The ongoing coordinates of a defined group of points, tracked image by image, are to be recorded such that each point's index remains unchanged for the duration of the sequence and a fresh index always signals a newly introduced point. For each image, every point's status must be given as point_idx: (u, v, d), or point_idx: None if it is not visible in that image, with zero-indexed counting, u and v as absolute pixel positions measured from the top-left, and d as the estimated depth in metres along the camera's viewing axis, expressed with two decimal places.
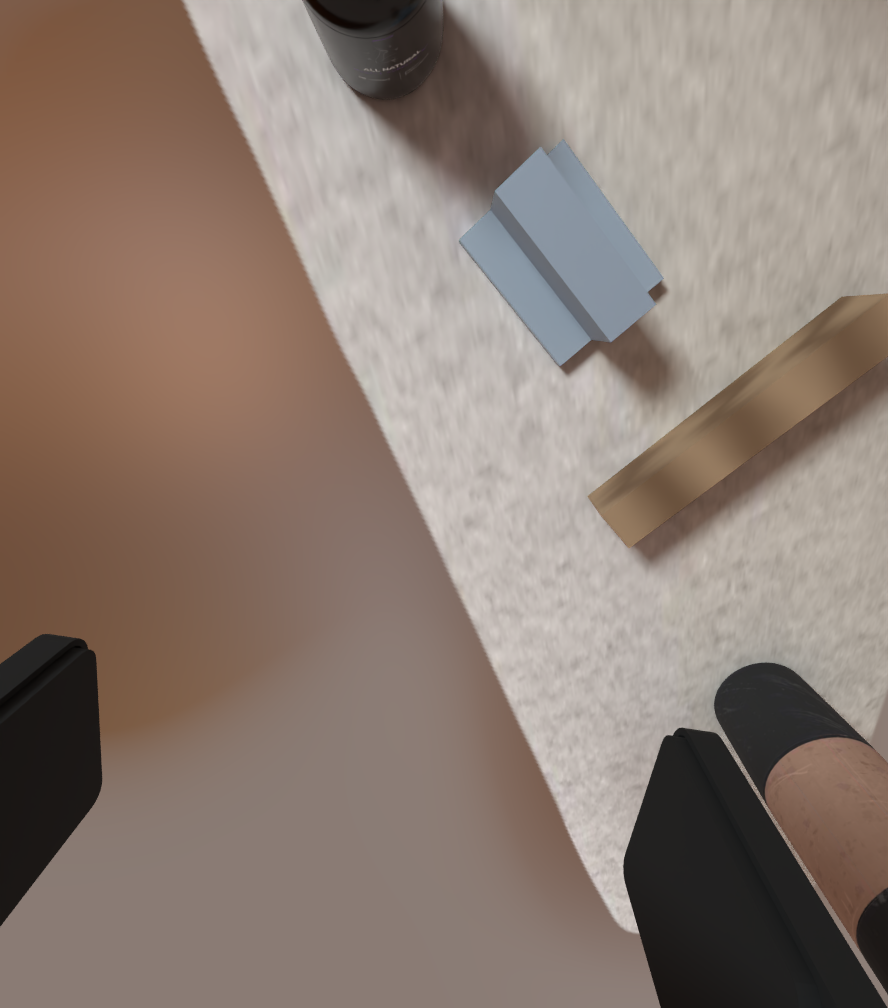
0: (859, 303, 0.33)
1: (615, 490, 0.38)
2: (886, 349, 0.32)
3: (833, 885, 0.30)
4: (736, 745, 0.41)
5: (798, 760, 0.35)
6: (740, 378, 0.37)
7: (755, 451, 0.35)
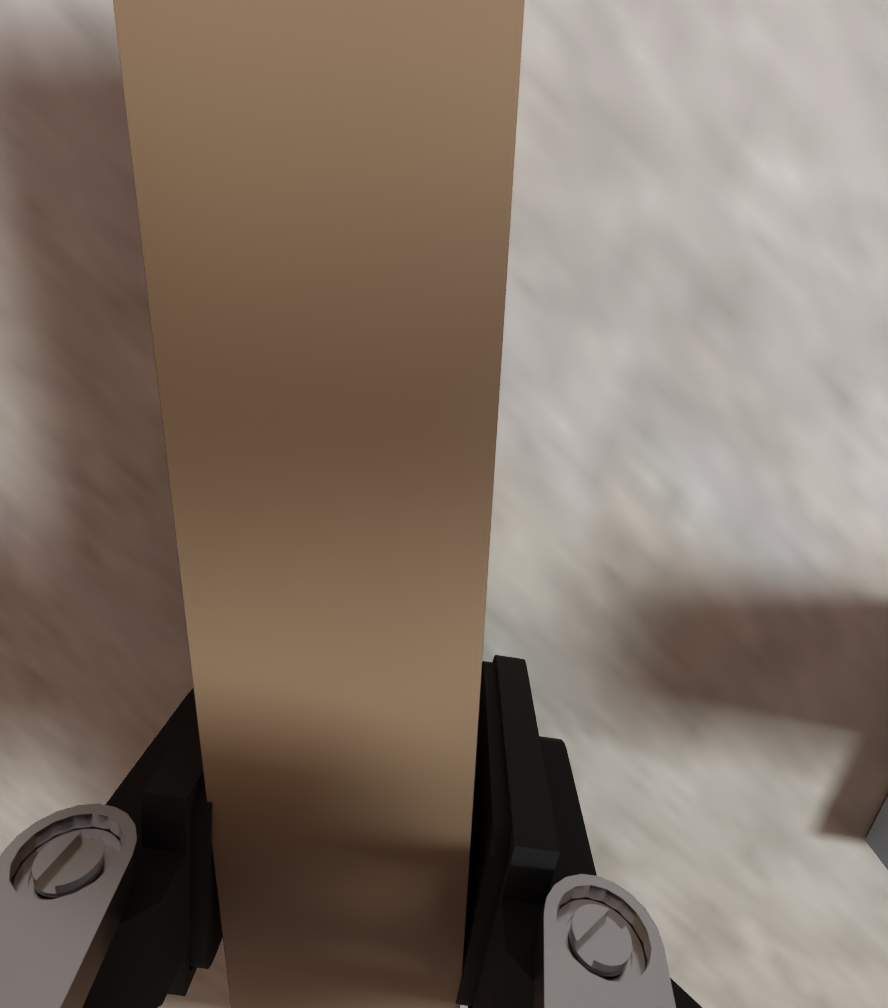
0: None
1: None
2: None
3: None
4: None
5: None
6: None
7: (229, 875, 0.07)
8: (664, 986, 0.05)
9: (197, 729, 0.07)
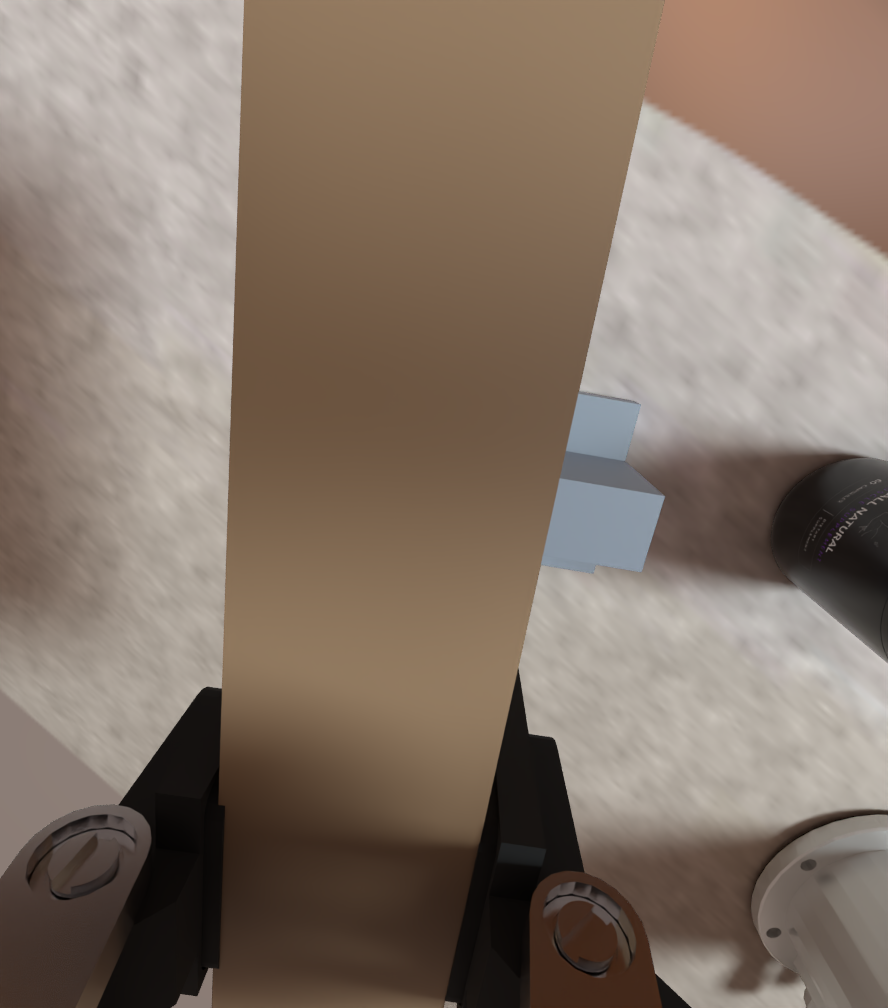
0: None
1: None
2: None
3: None
4: None
5: None
6: None
7: (231, 853, 0.07)
8: (649, 981, 0.05)
9: (209, 729, 0.07)
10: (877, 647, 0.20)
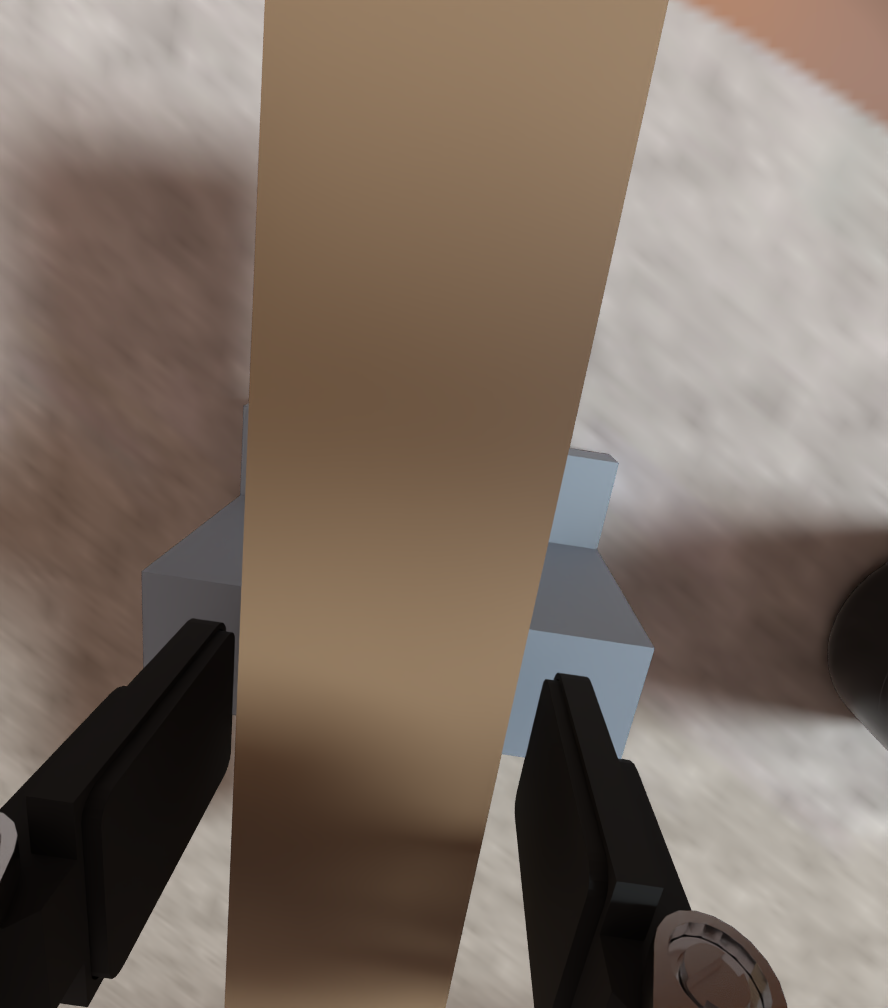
0: None
1: None
2: None
3: None
4: None
5: None
6: None
7: (245, 838, 0.07)
8: None
9: (100, 730, 0.07)
10: None
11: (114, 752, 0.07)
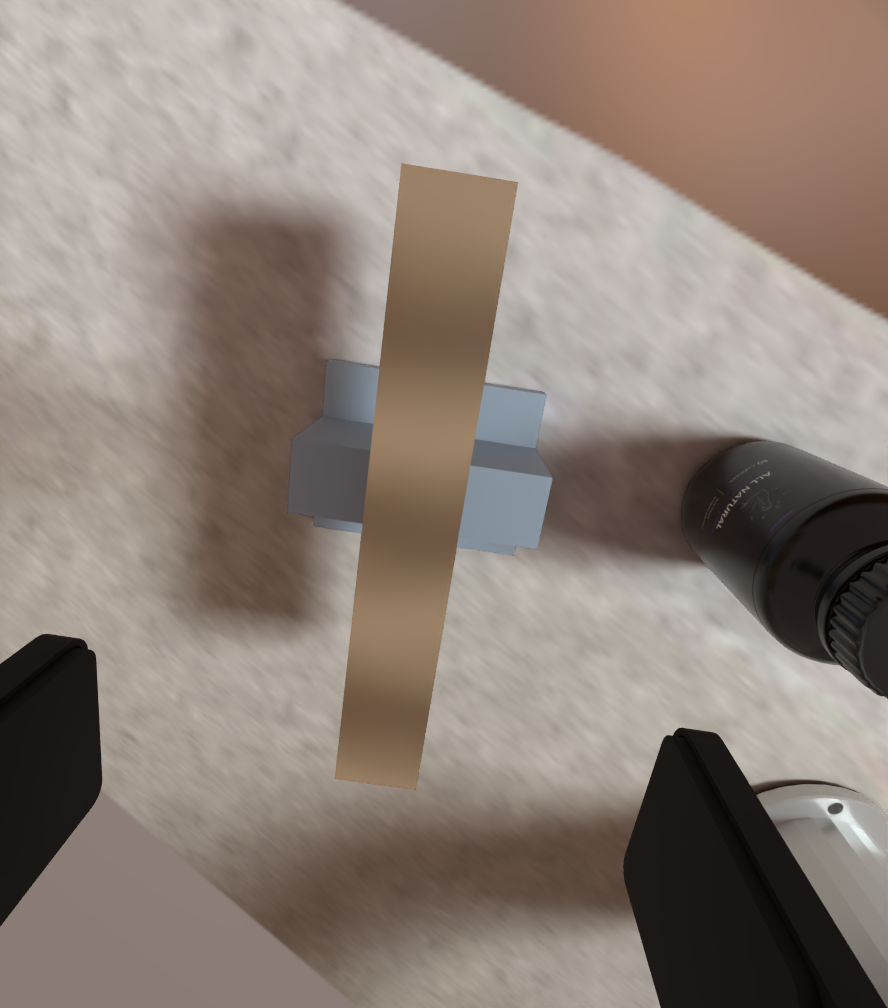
0: None
1: None
2: (349, 744, 0.20)
3: None
4: None
5: None
6: None
7: (369, 514, 0.17)
8: None
9: None
10: (754, 615, 0.22)
11: None
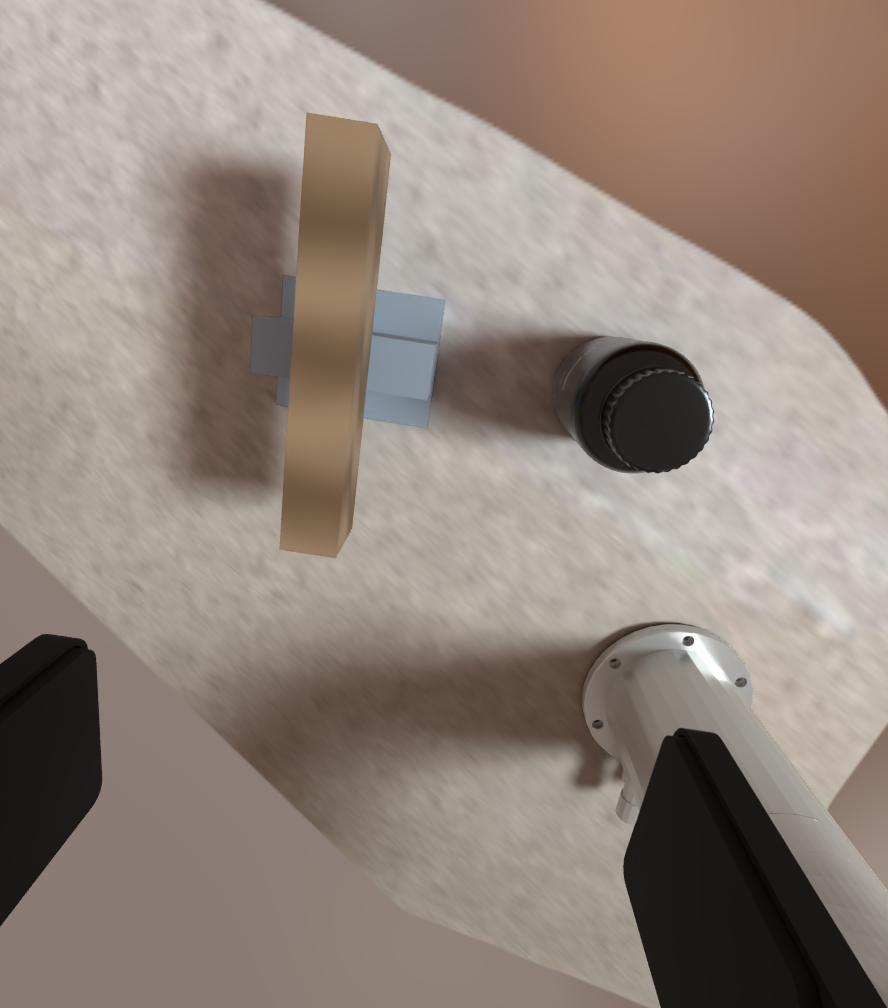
0: (343, 534, 0.31)
1: (379, 180, 0.26)
2: (288, 522, 0.29)
3: None
4: None
5: None
6: (363, 405, 0.31)
7: (295, 347, 0.27)
8: None
9: None
10: (577, 442, 0.31)
11: None
